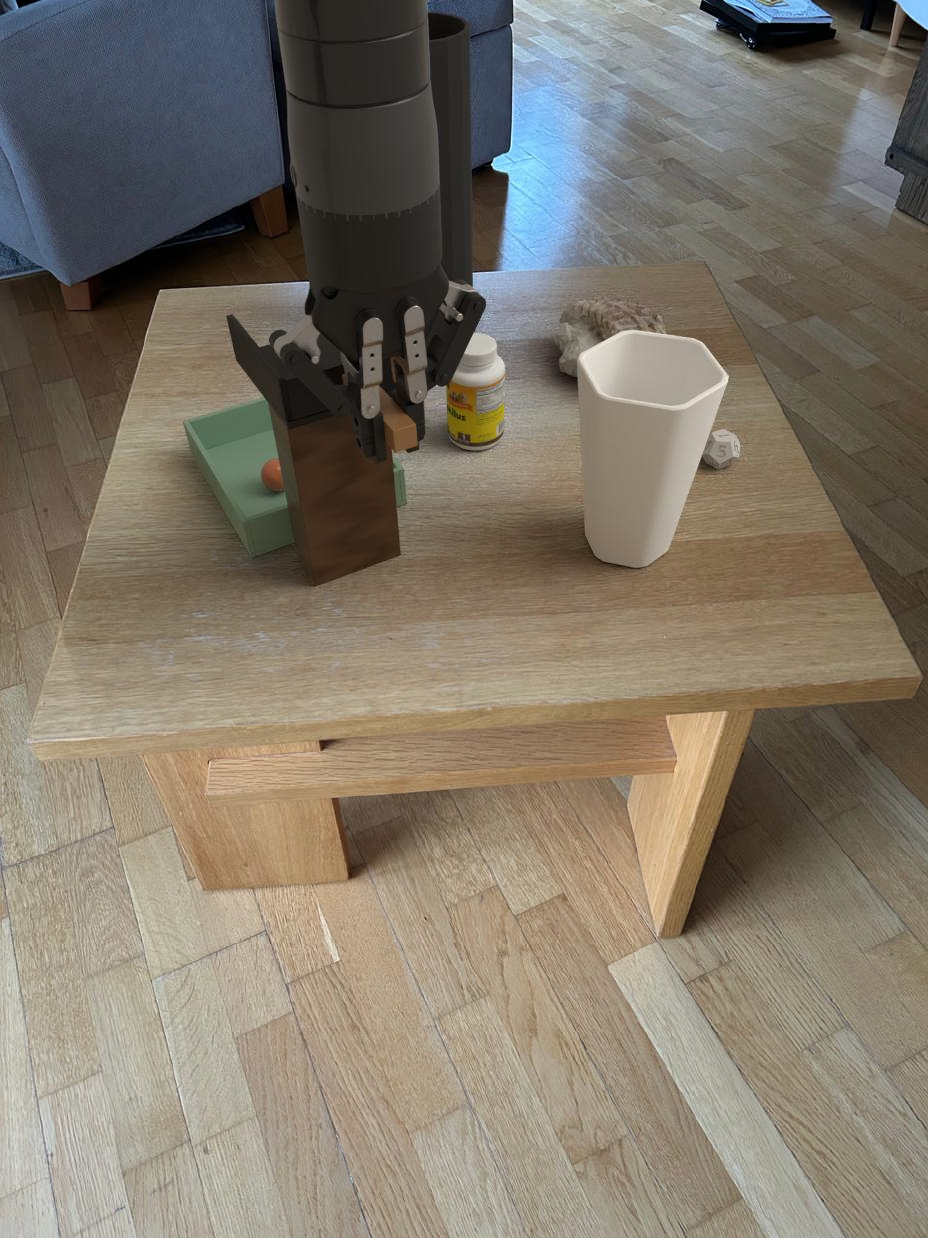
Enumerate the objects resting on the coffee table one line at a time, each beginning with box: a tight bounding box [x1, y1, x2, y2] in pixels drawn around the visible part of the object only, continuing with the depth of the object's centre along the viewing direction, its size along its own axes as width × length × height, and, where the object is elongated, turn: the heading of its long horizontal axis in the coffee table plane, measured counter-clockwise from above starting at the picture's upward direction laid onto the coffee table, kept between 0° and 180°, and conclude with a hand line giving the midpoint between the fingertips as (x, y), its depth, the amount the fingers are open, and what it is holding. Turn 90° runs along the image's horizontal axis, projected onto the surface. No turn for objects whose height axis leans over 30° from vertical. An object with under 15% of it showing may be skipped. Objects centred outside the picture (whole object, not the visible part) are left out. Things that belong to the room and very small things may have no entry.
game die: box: [701, 428, 741, 470], centre depth 90 cm, size 4×4×3 cm
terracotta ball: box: [261, 459, 285, 492], centre depth 87 cm, size 3×3×3 cm
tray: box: [182, 396, 408, 558], centre depth 88 cm, size 15×17×4 cm
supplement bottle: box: [445, 332, 506, 451], centre depth 90 cm, size 6×6×10 cm
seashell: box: [553, 295, 667, 378], centre depth 100 cm, size 14×9×10 cm
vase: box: [424, 11, 474, 343], centre depth 99 cm, size 10×10×30 cm
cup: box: [577, 330, 730, 569], centre depth 77 cm, size 11×10×17 cm
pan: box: [226, 313, 418, 454], centre depth 65 cm, size 10×19×4 cm, turn 28°
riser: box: [268, 403, 402, 587], centre depth 76 cm, size 8×4×18 cm, turn 118°
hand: (392, 449), depth 62 cm, fingers closed on pan, 2 cm apart
